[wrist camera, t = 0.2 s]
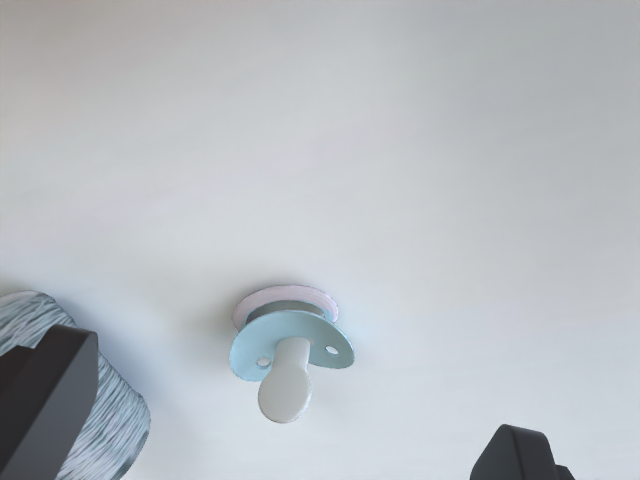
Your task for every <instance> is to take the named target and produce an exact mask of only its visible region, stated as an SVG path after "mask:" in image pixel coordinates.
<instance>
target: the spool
mask: <svg viewBox="0 0 640 480" xmlns="http://www.w3.org/2000/svg"><path fill="white" fill-rule="evenodd" d="M54 324H62V325H66V326H71V327H75V328H79V327H78V326H77V325H76V324H75V322H74V320H73V319H72V317H70V316H69V315H68V314H67V313H66V312H65V311H64V310H63V309H62V308H61V307H60V306H59V305H58V304H57V302H56V301H55V299H53V298H52V297H50V296H48V295H46V294H44V293H40V292H34V291H24V292H17V293H13V294H9V295H5V296H2V297H0V356H1V355H3V354H4V353H6V352H7V351H9V350H10V349H12V348H14V347H15V346H17V345H20V346H25V347H29V348H35V347H36V345H37V344H38V343H39V341H40V340H41V339H42V337H43V336H44V334H45V333H46V332H47V330H48V329H49V328H50V327H51V326H52V325H54ZM98 371H99V386H98V392H97V396H96V400H95V403H94V406H93V408H92V411H91V413H90V415H89V417H88V419H87V421H86V423H85V424H84V426H83V428H82V430H81V432H80V434H79V436H78V438H77V439H76V441H75V443H74V445H73V447H72V449H71V451H70V452H69V454H68V456H67V458H66V460H65V462H64V464H63V466H62V467H61V469H60V471H59V473H58V475H57V477H56V479H55V480H119V479H120V478H121V477H122V476H123V475H124V474H125V473H126V472H127V471H128V470H129V468H130V467H131V465H132V464H133V463H134V461H135V460H136V458H137V456H138V454H139V453H140V451H141V449H142V448H143V446H144V443H145V441H146V439H147V437H148V434H149V428H150V421H151V419H150V411H149V409H148V407H147V404H146V402H145V401H144V399H143V397H142V396H141V395H140V394H139V393H136V392H135V391H134V390H133V389H132V388H131V387H130V386H129V385H128V384H127V383H126V382H125V381H124V380H123V378H122V377H121V376H120V375H119V374H118V372H117V371H116V370H115V369H114V368H113V367H112V366H111V365H110V363H109V362H108V361H107V360H106V359H105V358H104V357H103V355H102V354H101V353H100V351H99V350H98Z"/></svg>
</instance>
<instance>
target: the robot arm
mask: <svg viewBox="0 0 640 480" xmlns="http://www.w3.org/2000/svg"><path fill="white" fill-rule="evenodd" d="M98 386H99V371H98V336H97V333H96V332H93V331H89V330H84V329H80V328H75V327H71V326H66V325H62V324H54V325H52V326H51V327H50V328H49V329H48V330H47V332H46V333H45V334H44V336H43V337H42V339H41V340H40V341H39V343H38V344H37V345H36V347H35V348H29V347H25V346H20V345H17V346H15V347H14V348H12V349H10V350H9V351H7V352H6V353H4V354H3V355H1V356H0V480H55V479H56V477H57V475H58V473H59V471H60V469H61V467H62V466H63V464H64V462H65V460H66V458H67V456H68V454H69V452H70V451H71V449H72V447H73V445H74V443H75V441H76V439H77V438H78V436H79V434H80V432H81V430H82V428H83V426H84V424H85V423H86V421H87V419H88V417H89V415H90V413H91V411H92V408H93V406H94V403H95V400H96V396H97V392H98ZM470 480H575V479H574V477H573V476H572V474H571V473H570V471H569V470H568V468H567V467H565V466H560V465H556V464H555V462H554V459H553V456H552V452H551V449H550V445H549V442H548V440H547V438H546V436H545V435H544V434H543V433H541V432H538V431H534V430H529V429H524V428H520V427H515V426H511V425H506V424H503V425H501V426H500V427H499V428H498V430H497V431H496V433H495V434H494V436H493V437H492V439H491V440H490V442H489V443H488V445H487V447H486V448H485V450H484V451H483V453H482V454H481V456H480V457H479V459H478V460H477V462H476V463H475V465H474V467H473V469H472V472H471V475H470Z"/></svg>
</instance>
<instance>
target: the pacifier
mask: <svg viewBox="0 0 640 480" xmlns="http://www.w3.org/2000/svg"><path fill="white" fill-rule="evenodd" d="M284 300H295V301H302V302H307V303H310V304H312V305H315V306H316V307H318V308H319V309H320V310H321V311H322V312H323V314H324V317H322V316H320V315H317V314H315V313H312V312H308V311H303V310H291V309H288V310H279V311H274V312H270V313H267V314H264V315H262V316H260V317H258V318H256V319H254V320H252V321H251V322H249V319H248V316H249V315H250V313H251V312H253V311H254V310H255V309H257V308H258V307H261V306H263V305H265V304H268V303H272V302H275V301H284ZM338 314H339V313H338V306H337V304H336V303H335V301H334V300H333V299H332V298H331V297H330V296H329V295H327V294H326V293H324V292H322V291H320V290H317V289H315V288H311V287H306V286H300V285H283V286H274V287H270V288H266V289H262V290H259V291H257V292H255V293H253V294H251V295H248V296H247V297H246V298H244V299H243V300H242V301H241V302H239V303H238V305H237V306H236V307H235V309H234V310H233V315H232V321H233V324H234V327H235V328H236V329H237V330H238V332H239V333H238V334H237V336H236V337H235V339H234V341H233V344H232V347H231V352H230V366H231V368H232V370H233V372H234V373H235V375H236V376H238V377H239V378H241V379H243V380H246V381H252V382H258V381H262V383H261V385H260V388H259V392H258V404H259V407H260V410H261V411H262V413H263V414H264V415H265V416H266V417H267V418H268V419H269V420H271V421H273V422H276V423H288V422H292V421H294V420H296V419H297V418H299V417H300V416H301V415H302V414H303V413H304V412H305V410H306V409H307V407H308V405H309V403H310V399H311V394H312V385H311V381H310V378H309V375H308V374H307V366H308V363H310V364H314V365H317V366H321V367H326V368H335V369H341V368H346V367H349V366H350V365H352V364H353V362H354V349H353V347H352V345H351V343H350V341H349V340H348V338H347V337H346V336H345V334H344V333H343V332H342V331H341V330H340V329H339V328H338V327H337V326H336V325H334V323H335V322H336V320H337V317H338ZM327 346H331V347H333V348H335V349H336V350H337V351H338V352H339V353H338V354H332V353H330V352H329V351H328V350H327V349H326V347H327ZM262 357H268V358H269V359H270V360H271V362H270V363H269V364H268V365H266V366H260V365H258V364H257V361H258V360H259V359H260V358H262Z"/></svg>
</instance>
